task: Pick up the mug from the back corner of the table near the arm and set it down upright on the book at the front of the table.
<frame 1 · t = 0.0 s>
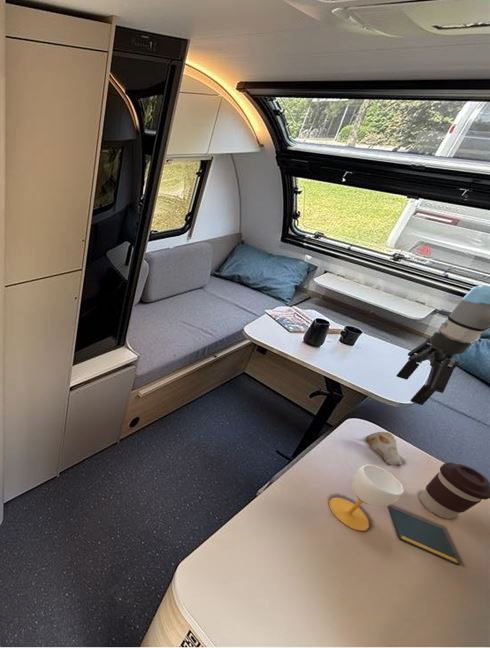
hand: (408, 389, 114), 21 cm above the counter, tool pointing down, fingers open, 13 cm apart
cup: (347, 514, 98), on the counter
coffee cup: (434, 507, 103), on the counter
book: (420, 534, 95), on the counter
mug: (381, 454, 118), on the counter
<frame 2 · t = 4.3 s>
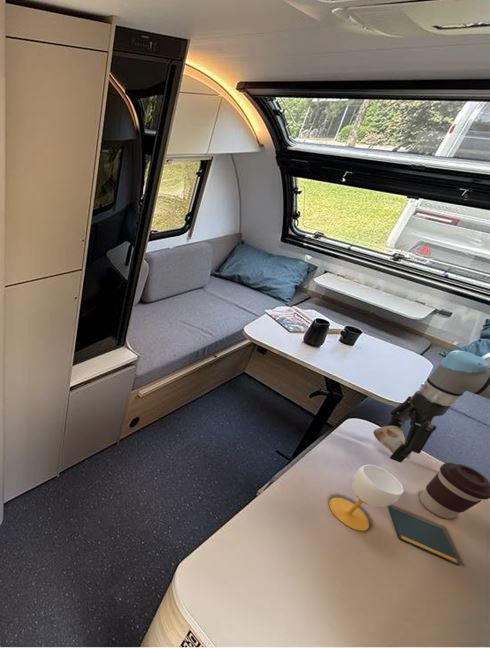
hand: (389, 447, 115), 4 cm above the counter, tool pointing down, fingers closed on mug, 10 cm apart
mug: (389, 449, 115), point 3 cm above the counter, touching gripper
everything else where it was.
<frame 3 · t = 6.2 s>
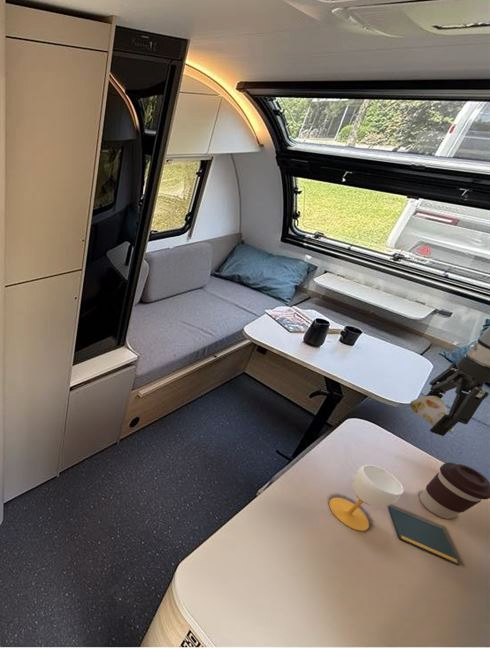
hand: (429, 420, 103), 21 cm above the counter, tool pointing down, fingers closed on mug, 10 cm apart
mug: (428, 422, 104), point 20 cm above the counter, touching gripper
everything else where it was.
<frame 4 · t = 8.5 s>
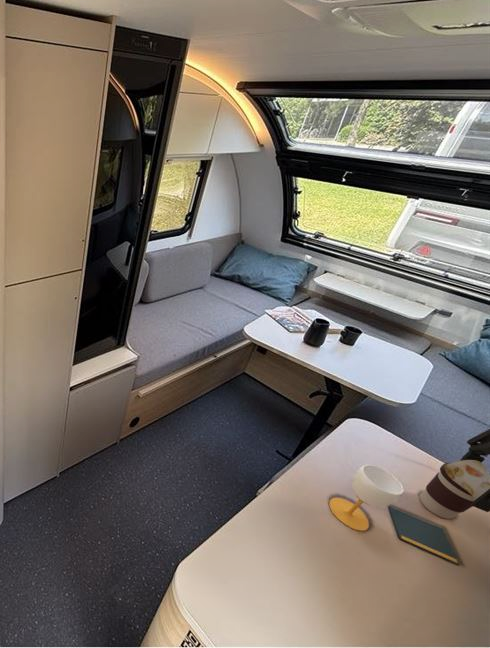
hand: (468, 488, 86), 19 cm above the counter, tool pointing down, fingers closed on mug, 10 cm apart
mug: (467, 490, 86), point 18 cm above the counter, touching gripper
everything else where it was.
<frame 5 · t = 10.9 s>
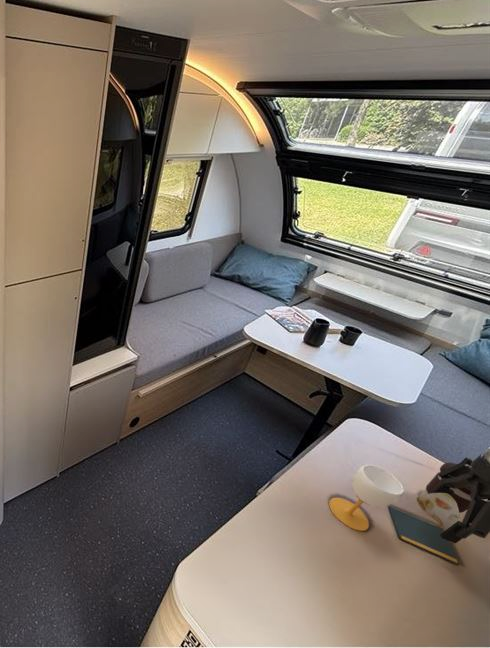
hand: (438, 519, 91), 7 cm above the counter, tool pointing down, fingers closed on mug, 10 cm apart
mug: (437, 521, 91), point 7 cm above the counter, touching gripper
everything else where it was.
when the fingers open (1 cm above the counter, at t = 12.9 s): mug stays where it is, resting on book.
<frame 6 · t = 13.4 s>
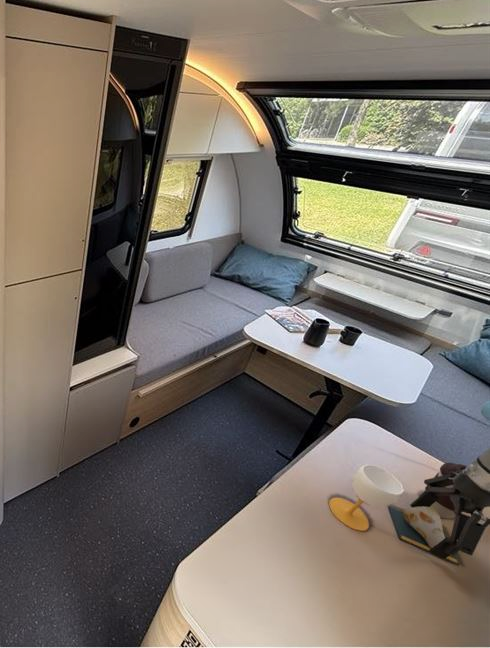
hand: (425, 530, 94), 2 cm above the counter, tool pointing down, fingers open, 13 cm apart
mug: (422, 534, 95), resting on book
everything else where it was.
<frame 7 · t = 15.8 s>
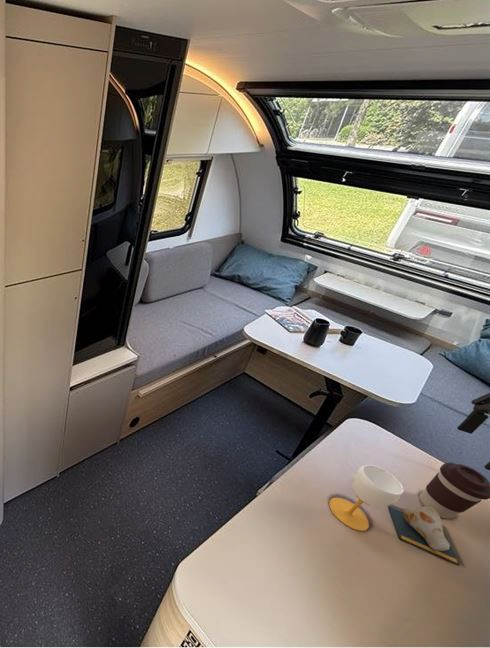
hand: (477, 449, 91), 24 cm above the counter, tool pointing down, fingers open, 13 cm apart
nothing on the counter moved.
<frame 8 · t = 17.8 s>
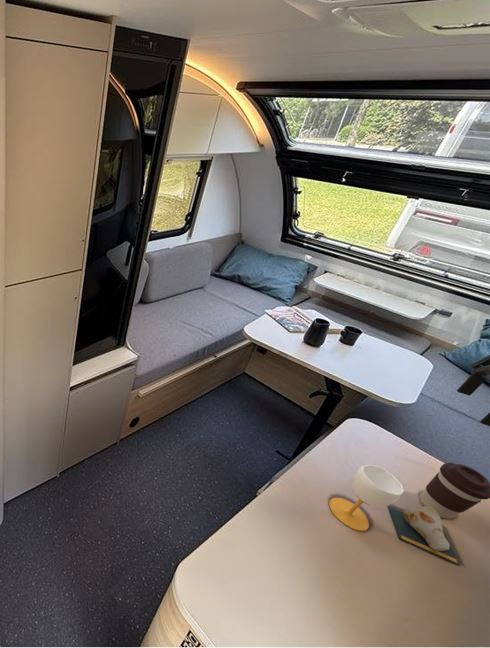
hand: (474, 408, 97), 29 cm above the counter, tool pointing down, fingers open, 13 cm apart
nothing on the counter moved.
at the end: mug inside the target area on the book (0.1 cm from its centre), point 0.4 cm above the book's base; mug tilted 1°; the gripper is holding nothing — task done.
